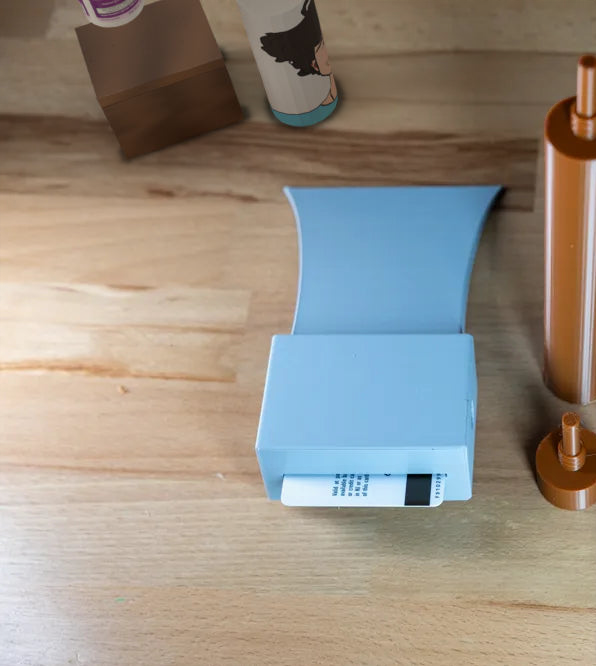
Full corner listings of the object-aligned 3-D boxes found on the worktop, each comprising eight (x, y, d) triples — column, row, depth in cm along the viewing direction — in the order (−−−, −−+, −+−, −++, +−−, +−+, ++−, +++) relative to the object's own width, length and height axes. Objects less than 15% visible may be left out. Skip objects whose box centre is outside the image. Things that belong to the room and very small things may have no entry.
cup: (346, 117, 117) (317, 3, 104) (280, 137, 116) (243, 24, 103) (329, 70, 120) (299, -46, 107) (265, 89, 119) (227, -26, 106)
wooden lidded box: (128, 162, 115) (96, 99, 107) (106, 92, 120) (74, 27, 112) (246, 121, 117) (222, 57, 109) (218, 55, 122) (194, -12, 114)
